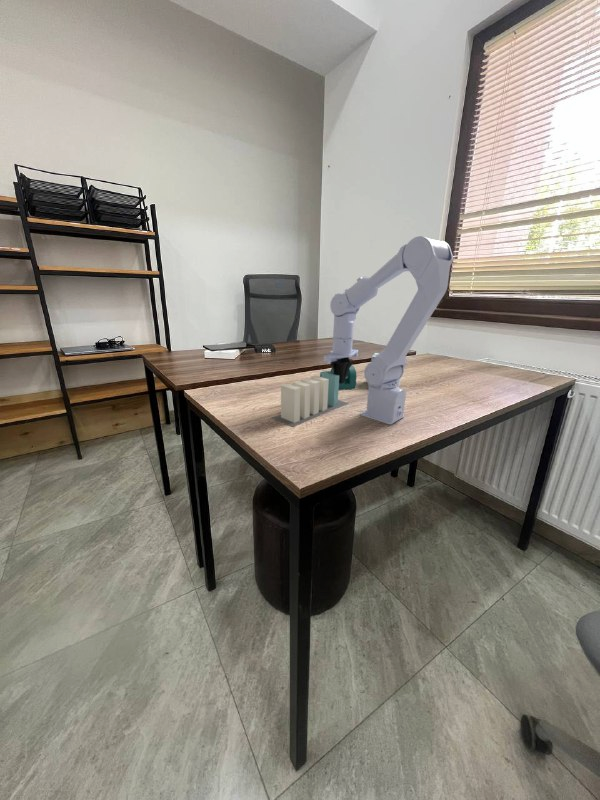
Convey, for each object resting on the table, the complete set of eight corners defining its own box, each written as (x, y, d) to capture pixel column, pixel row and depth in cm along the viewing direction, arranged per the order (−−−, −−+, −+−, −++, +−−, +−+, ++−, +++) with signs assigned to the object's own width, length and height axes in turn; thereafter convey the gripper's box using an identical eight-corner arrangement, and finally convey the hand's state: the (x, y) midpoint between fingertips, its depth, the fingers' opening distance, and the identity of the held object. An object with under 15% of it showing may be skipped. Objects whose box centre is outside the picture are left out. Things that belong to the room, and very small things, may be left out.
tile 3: (318, 412, 85) (319, 381, 82) (313, 414, 84) (314, 383, 81) (305, 408, 88) (306, 378, 85) (300, 409, 87) (301, 379, 84)
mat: (348, 404, 93) (348, 403, 93) (292, 428, 76) (292, 427, 76) (328, 397, 98) (328, 396, 98) (271, 418, 82) (271, 417, 81)
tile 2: (327, 409, 88) (328, 379, 85) (322, 411, 86) (324, 380, 83) (314, 404, 91) (315, 375, 88) (309, 406, 90) (310, 376, 87)
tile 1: (337, 404, 91) (339, 375, 88) (333, 406, 90) (335, 377, 87) (324, 400, 95) (325, 372, 91) (320, 402, 93) (321, 373, 90)
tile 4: (309, 416, 83) (310, 384, 80) (304, 418, 81) (305, 386, 78) (296, 411, 86) (296, 380, 83) (291, 413, 85) (291, 382, 81)
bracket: (355, 389, 108) (357, 367, 105) (338, 391, 105) (339, 368, 103) (332, 376, 123) (333, 356, 121) (317, 377, 121) (317, 357, 118)
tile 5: (299, 420, 80) (300, 387, 77) (294, 422, 79) (294, 389, 76) (286, 415, 83) (286, 383, 80) (281, 417, 82) (280, 385, 79)
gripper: (346, 333, 96) (343, 375, 101) (316, 338, 87) (314, 384, 91) (365, 336, 92) (361, 380, 97) (336, 341, 82) (333, 389, 87)
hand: (340, 382), depth 94 cm, fingers closed
